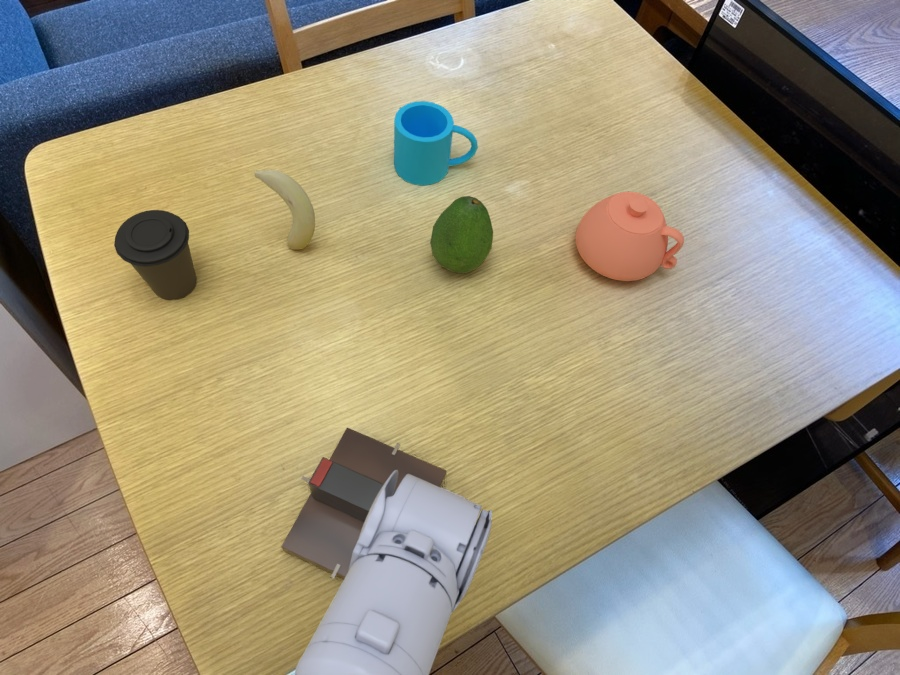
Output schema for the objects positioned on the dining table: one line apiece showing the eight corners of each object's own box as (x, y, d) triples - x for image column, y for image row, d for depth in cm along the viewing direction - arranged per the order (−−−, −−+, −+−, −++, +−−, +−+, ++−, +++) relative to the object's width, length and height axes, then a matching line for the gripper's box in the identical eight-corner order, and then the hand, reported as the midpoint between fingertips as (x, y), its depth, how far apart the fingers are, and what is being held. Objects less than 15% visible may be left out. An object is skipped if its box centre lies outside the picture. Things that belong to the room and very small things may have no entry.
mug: (393, 184, 90) (393, 140, 83) (394, 144, 95) (395, 99, 88) (475, 187, 92) (482, 144, 84) (473, 148, 96) (480, 104, 89)
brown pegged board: (402, 614, 62) (403, 611, 60) (266, 550, 64) (263, 545, 62) (460, 477, 69) (462, 471, 67) (337, 423, 71) (336, 416, 69)
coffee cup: (219, 289, 79) (199, 239, 70) (157, 320, 76) (128, 271, 67) (190, 247, 82) (167, 193, 73) (129, 275, 79) (98, 222, 70)
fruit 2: (481, 291, 82) (495, 232, 72) (422, 279, 82) (428, 218, 72) (491, 246, 86) (505, 183, 76) (435, 234, 86) (442, 170, 76)
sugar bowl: (590, 208, 91) (611, 155, 83) (680, 248, 89) (712, 198, 80) (557, 265, 85) (576, 215, 77) (652, 310, 83) (684, 263, 74)
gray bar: (421, 515, 65) (424, 501, 60) (409, 542, 63) (411, 530, 59) (326, 472, 66) (322, 455, 62) (312, 498, 65) (307, 482, 60)
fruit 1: (320, 258, 81) (330, 245, 82) (291, 177, 72) (303, 165, 74) (283, 252, 83) (294, 240, 84) (250, 172, 74) (263, 160, 76)
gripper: (409, 453, 47) (405, 503, 59) (314, 650, 40) (331, 663, 52) (496, 491, 46) (474, 534, 58) (415, 700, 39) (408, 701, 51)
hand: (411, 597), depth 55 cm, fingers open, 7 cm apart
